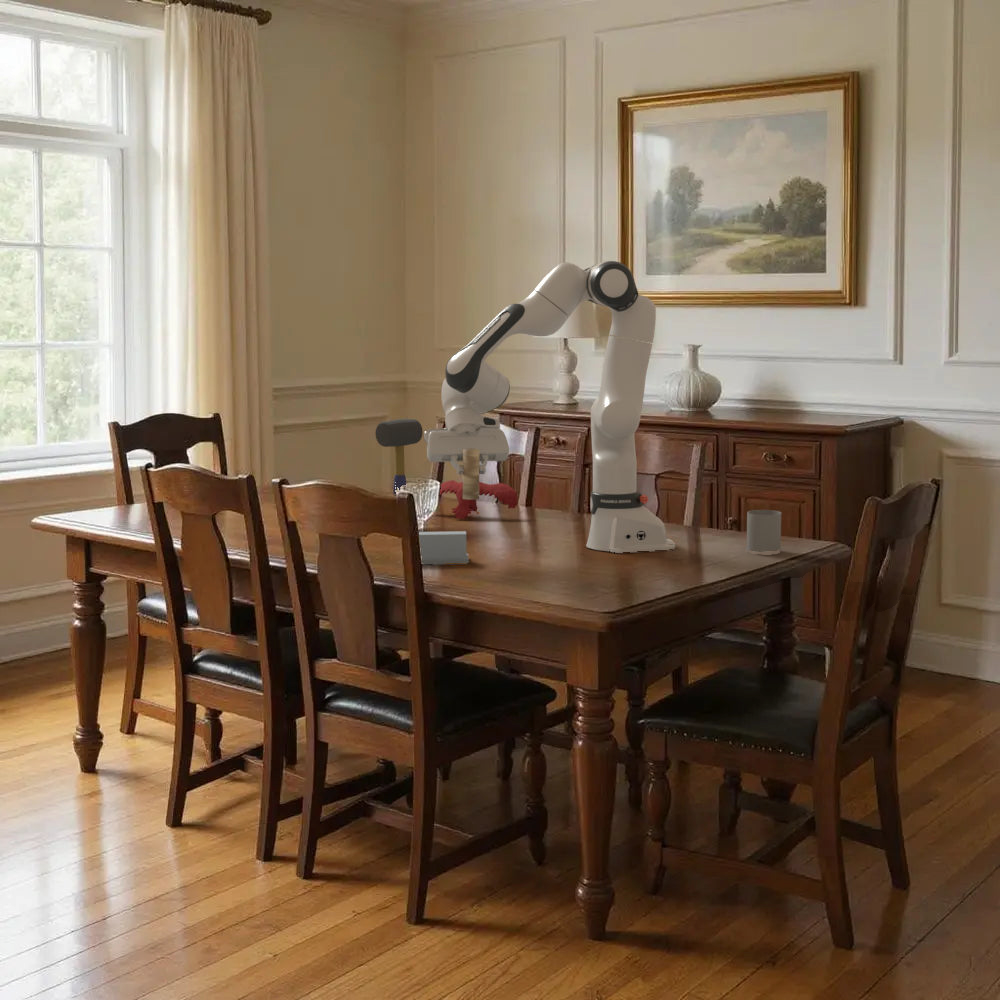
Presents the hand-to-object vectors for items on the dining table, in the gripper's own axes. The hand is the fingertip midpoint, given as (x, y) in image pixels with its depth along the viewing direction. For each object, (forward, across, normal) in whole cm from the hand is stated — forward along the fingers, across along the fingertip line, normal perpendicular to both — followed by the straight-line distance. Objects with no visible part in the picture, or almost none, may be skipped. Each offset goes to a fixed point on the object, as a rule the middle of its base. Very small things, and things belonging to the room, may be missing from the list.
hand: (471, 472), depth 338 cm
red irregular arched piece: (-28, +12, +58) cm, 66 cm away
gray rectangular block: (+17, -9, +13) cm, 23 cm away
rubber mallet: (-20, -10, +50) cm, 55 cm away
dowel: (+4, 0, +5) cm, 6 cm away
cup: (+21, +72, +7) cm, 76 cm away
